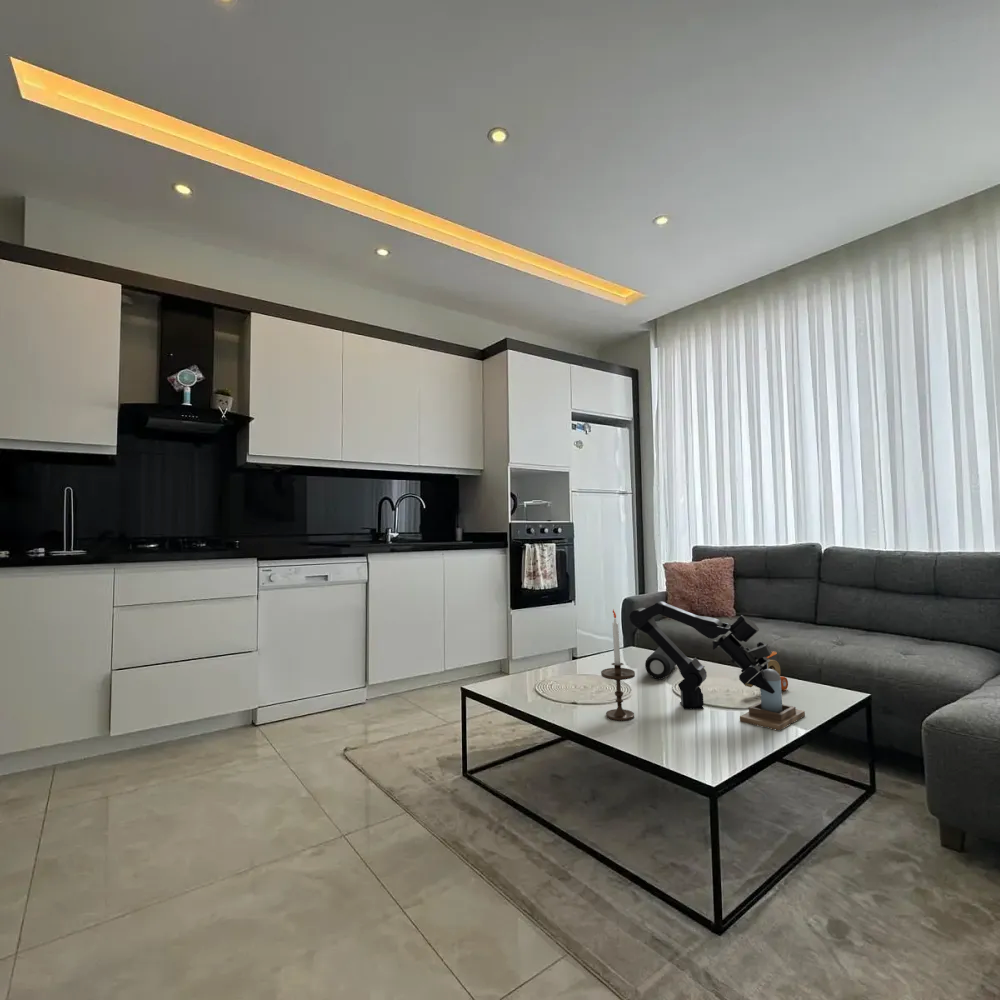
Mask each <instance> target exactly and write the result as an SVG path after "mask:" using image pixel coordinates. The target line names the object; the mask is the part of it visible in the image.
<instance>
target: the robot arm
mask: <svg viewBox="0 0 1000 1000" xmlns="http://www.w3.org/2000/svg"><path fill="white" fill-rule="evenodd" d="M658 615H660V616H661V615H662V616H664V617H667V618H669V619H672V620H674V621H676V622H679V623H682V624H684V625H687V626H688V627H689V626H690V627H691V628H693V629H694V630H695V631H696V632H698V633H699V634H701V635H703V636H705V637H706V638H708V639H711V640H712V639H713V640H712V650H714V651H715V650H716V649H717V648H720V649H721V650H722V651H723V652H724V653H725V654H726V655H727V656H728V657H729V658H730V659H731V660H730V662H732V664H734V663H735V664H736V665H737V666H738V667H739V668H740V669H741V670H740V674H738V675H739V676H738V677H739V678H738V679H739V681H740V682H741V683H742V684H743V685H744V684H745V683H747V682H748V684H751V685H753V686H752V687H757V688H759V689H760V688H761V689H763V690H765V691H767V692H769V693H772V694H773V693H774V692H775V691H774V689H773V688H772V687H771V685H770V684H769V683H768V682H767V680H766V679H765V678H764V676H763V670H765V669H768V662H767V663H766V664H765V665H764V664H763V663H765V662H766V661H767V660H768V658H767V657H768V656H770V655H771V654H772V649H770V648H771V646H770V645H769V644H768V643H765V642H764V641H759V642H757V644H756V647H753V648H750V647H749V646H744V645H743V644H742V642H745V643H747V642H748V641H749V640H750V639H751V638H752V637H754V636H755V634H757V633H758V632H759V631H760V629H759V627H758V626H757V624H755V622H753V621H752V620H750V619H749V618H748V617H745V616H744V615H743V614H741V615H740V616H739V617H738V618H737V620H736V621H734V622H733V623H726V622H722V621H721V620H720V619H718V618H715V617H710V616H705V615H704V616H702V615H697V614H695V613H692V612H689V611H687V610H684V609H683V608H680V607H677V606H674V605H671V604H669V603H666V601H663V600H662V601H657V602H656V603H654V604H653V605H650V606H649V607H646V608H645V607H639V608H637V609H634V610H633V611H630V614H629V622H630V623H631V625H633V626H634V627H635V628H636V629H638V631H641V632H642V633H644V634H647V636H649V637H650V638H651V639H652V640H653V642H654V643H655V644H656V645H657V646H658V648H659V647H660V648H661V649H662V650H663V651H664V652H665V653H666V654H667V655H668V657H669V658H670V659H671V660H672V661H673V662H674V663H675V664H676V665H675V666H677V668H678V670H679V673H680V675H681V677H682V678H683V680H681V681H680V682H679V683H677V686H678V688H679V690H680V691H679V692H680V701H679V704H680V705H681V707H682V709H683V710H704V693H703V692H702V689H701V687H700V686H702V683H704V682H705V681H706V679H707V677H708V676H707V671H706V669H705V665H703V664H702V663H701V662H700V661H699V659H698V658H697V657H694V658H693V659H691V658H690V657H688V656H687V655H686V654H685V653H684V652H683V651H682V650H681V649H680V648H679V647H678V646H677V645H676V644H675V642H674V641H672V640H671V638H670V637H668V636H667V634H666V633H665V632H664V631H663V630H662V629H661V628H660V627H659V626H658V624H657V622H656V620H655V616H658ZM728 632H729V634H728V635H727V633H728ZM718 637H719V638H718ZM717 638H718V639H717ZM716 639H717V640H716Z"/></svg>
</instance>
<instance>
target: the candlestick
mask: <svg viewBox="0 0 1000 1000" xmlns="http://www.w3.org/2000/svg"><path fill="white" fill-rule="evenodd" d="M612 613H613V618H614V619H613V622H612V636H613V643H612V644H613V658H614V662H612V663H611V666H614V667H610V668H605V669H602V670H601V671H600V673H601V674H600V676H601V677H602V678H604V679H608V680H615V684H616V685H615V686H616V691H614V695H615V697H616V699H615V702H616V703H617V704H616V705H617V707H616V708H615V709H614V708H613V709H610V710H607V711H606V713H605V715H606V716H605V717H606V719H607V720H611V721H615V722H630V721H631V720H634V719H635V713H634V712H633V711H632V710H628V709H625V708H624V709H623V705H622V703H623V702H624V700H623V699H622V697H623V695H624V692H623V691H622V689H621V688H622V686H621V683H622V682H621V681H624V680H630V679H631V680H632V679H633V678H635V675H636V672H635V671H634V670H633V669H631V668H626V667H622V666H624V663H622V662H621V651H620V649H621V647H620V632H619V629H620V628H619V623H618V621H617V614H616V611H615V609H614V608H613V609H612Z"/></svg>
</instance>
